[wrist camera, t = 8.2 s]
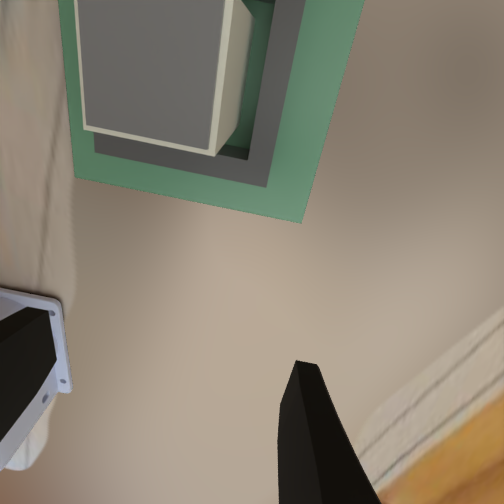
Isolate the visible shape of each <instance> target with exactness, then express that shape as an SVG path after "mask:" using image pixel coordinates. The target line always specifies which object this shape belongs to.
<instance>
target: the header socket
mask: <svg viewBox="0 0 504 504" xmlns="http://www.w3.org/2000/svg"><path fill="white" fill-rule="evenodd" d="M241 1H242V2H243V3H244V5H245V6H246V7H247V9H248V10H249V12H250V13H251V14H252V16H253V17H254V18H255V26H254V32H253V39H252V45H251V52H250V59H249V65H248V72H247V78H246V85H245V91H244V98H243V104H242V111H241V117H240V124H239V126H238V127H237V128H236V129H235V131H234V132H233V133H232V135H231V136H230V137H229V139H228V140H227V141H226V142H225V144H224V145H223V146H222V148H221V149H220V150H219V151H218V153H217V154H216V155H215V157H214V156H209V155H204V154H200V153H195V152H190V151H185V150H180V149H175V148H171V147H166V146H161V145H156V144H151V143H146V142H142V141H137V140H132V139H127V138H122V137H117V136H113V135H108V134H103V133H98V132H93V131H88V130H84V129H83V115H82V102H81V88H80V75H79V62H78V48H77V35H76V21H75V8H74V0H58V5H59V15H60V26H61V36H62V47H63V57H64V68H65V79H66V89H67V100H68V110H69V121H70V131H71V142H72V152H73V163H74V174H75V177H76V178H81V179H86V180H91V181H96V182H100V183H106V184H110V185H115V186H120V187H126V188H130V189H135V190H140V191H145V192H150V193H154V194H159V195H164V196H169V197H174V198H179V199H184V200H188V201H193V202H198V203H203V204H208V205H213V206H218V207H223V208H228V209H233V210H238V211H243V212H247V213H252V214H257V215H262V216H267V217H272V218H276V219H281V220H287V221H291V222H296V223H302V219H303V216H304V213H305V209H306V206H307V202H308V199H309V195H310V191H311V188H312V184H313V181H314V177H315V174H316V170H317V167H318V163H319V159H320V156H321V153H322V149H323V145H324V142H325V138H326V135H327V131H328V128H329V124H330V121H331V117H332V114H333V110H334V107H335V103H336V100H337V96H338V92H339V89H340V85H341V82H342V78H343V75H344V71H345V67H346V64H347V61H348V57H349V54H350V50H351V46H352V43H353V40H354V36H355V32H356V29H357V25H358V22H359V18H360V15H361V11H362V8H363V4H364V1H365V0H241Z"/></svg>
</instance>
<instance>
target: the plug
mask: <svg viewBox="0 0 504 504" xmlns="http://www.w3.org/2000/svg"><path fill="white" fill-rule="evenodd" d="M74 8H75V21H76V35H77V48H78V62H79V75H80V88H81V102H82V115H83V129H84V130H88V131H93V132H98V133H103V134H108V135H113V136H117V137H122V138H127V139H132V140H137V141H142V142H146V143H151V144H156V145H161V146H166V147H171V148H175V149H180V150H185V151H190V152H195V153H200V154H204V155H209V156H214V157H215V155H216V154H217V153H218V151H219V150H220V149H221V148H222V146H223V145H224V144H225V142H226V141H227V140H228V139H229V137H230V136H231V135H232V133H233V132H234V131H235V129H236V128H237V127H238V126H239V124H240V117H241V111H242V104H243V98H244V91H245V85H246V78H247V72H248V65H249V59H250V52H251V45H252V39H253V32H254V26H255V18H254V17H253V16H252V14H251V13H250V12H249V10H248V9H247V7H246V6H245V5H244V3H243V2H242V1H241V0H74Z"/></svg>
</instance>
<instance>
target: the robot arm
mask: <svg viewBox="0 0 504 504" xmlns="http://www.w3.org/2000/svg"><path fill="white" fill-rule="evenodd" d="M72 389H73V383H72V376H71V369H70V362H69V356H68V349H67V342H66V335H65V328H64V321H63V314H62V307H61V304H60V302H59V301H58V300H56V299H54V298H49V297H44V296H39V295H34V294H29V293H24V292H19V291H14V290H9V289H4V288H0V471H1V470H2V469H3V468H4V467H5V466H6V465H7V463H8V462H9V461H10V460H11V458H12V457H13V455H14V454H15V452H16V451H17V449H18V448H19V447H20V445H21V444H22V442H23V441H24V439H25V438H26V437H27V435H28V434H29V432H30V431H31V429H32V428H33V427H34V425H35V424H36V422H37V421H38V419H39V418H40V416H41V415H42V414H43V412H44V411H45V409H46V408H47V406H48V405H49V404H50V402H51V401H52V399H53V398H54V396H55V395H56V394H57V392H62V393H70V392H71V390H72ZM277 442H278V443H277V444H278V486H279V504H381V502H380V500H379V498H378V496H377V495H376V493H375V491H374V489H373V487H372V485H371V483H370V481H369V480H368V478H367V476H366V474H365V472H364V470H363V468H362V466H361V464H360V462H359V460H358V458H357V456H356V454H355V452H354V450H353V447H352V445H351V443H350V441H349V439H348V437H347V435H346V432H345V430H344V428H343V426H342V424H341V421H340V419H339V417H338V415H337V412H336V410H335V407H334V405H333V403H332V400H331V398H330V395H329V393H328V390H327V388H326V385H325V382H324V380H323V377H322V374H321V372H320V369H319V367H318V366H317V364H312V363H307V362H302V361H297V360H296V361H295V364H294V367H293V370H292V373H291V375H290V378H289V381H288V384H287V387H286V390H285V393H284V395H283V398H282V401H281V403H280V413H279V426H278V440H277Z"/></svg>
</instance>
